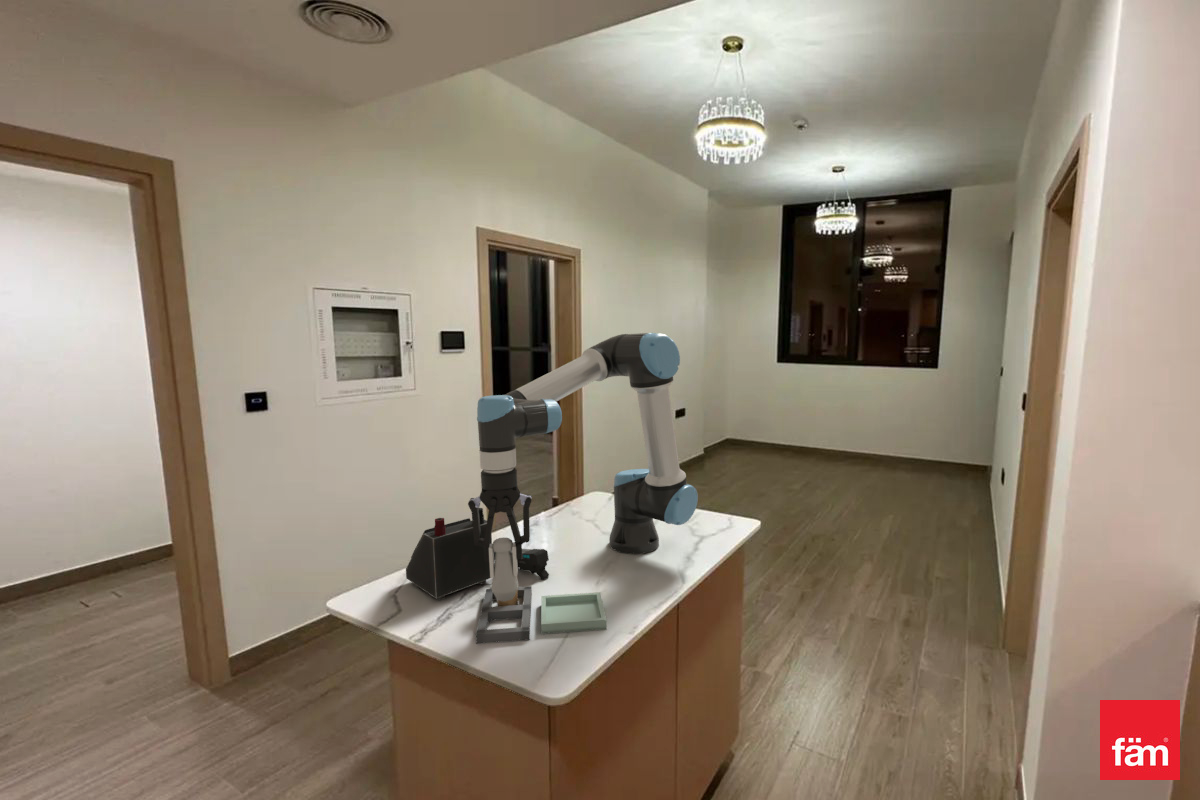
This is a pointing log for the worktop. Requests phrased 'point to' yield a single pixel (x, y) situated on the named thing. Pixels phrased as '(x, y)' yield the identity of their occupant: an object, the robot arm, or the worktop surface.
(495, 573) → the salt shaker
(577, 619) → the tray
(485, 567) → the voltmeter
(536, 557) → the gun
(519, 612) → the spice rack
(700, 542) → the worktop surface
